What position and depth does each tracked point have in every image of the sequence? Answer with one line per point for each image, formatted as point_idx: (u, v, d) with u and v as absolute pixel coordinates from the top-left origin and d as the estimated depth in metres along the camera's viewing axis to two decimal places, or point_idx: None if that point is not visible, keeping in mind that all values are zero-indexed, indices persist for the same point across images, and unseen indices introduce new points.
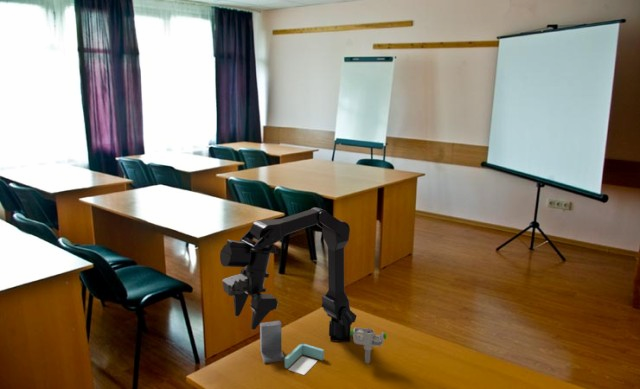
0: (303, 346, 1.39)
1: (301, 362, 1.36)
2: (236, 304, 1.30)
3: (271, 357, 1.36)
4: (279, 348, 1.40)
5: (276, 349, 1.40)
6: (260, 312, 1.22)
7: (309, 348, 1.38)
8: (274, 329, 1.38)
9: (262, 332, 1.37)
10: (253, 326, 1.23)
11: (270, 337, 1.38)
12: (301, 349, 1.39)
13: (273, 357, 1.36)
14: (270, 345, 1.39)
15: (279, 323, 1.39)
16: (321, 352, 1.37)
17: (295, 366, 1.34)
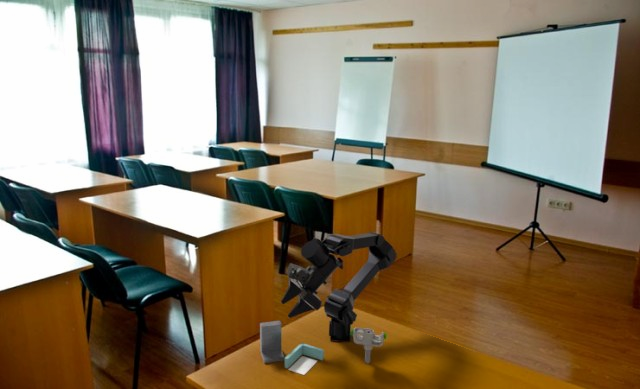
0: (303, 346, 1.39)
1: (301, 362, 1.36)
2: (287, 293, 1.43)
3: (271, 357, 1.36)
4: (279, 348, 1.40)
5: (276, 349, 1.40)
6: (302, 306, 1.34)
7: (309, 348, 1.38)
8: (274, 329, 1.38)
9: (262, 332, 1.37)
10: (290, 314, 1.34)
11: (270, 337, 1.38)
12: (301, 349, 1.39)
13: (273, 357, 1.36)
14: (270, 345, 1.39)
15: (279, 323, 1.39)
16: (321, 352, 1.37)
17: (295, 366, 1.34)
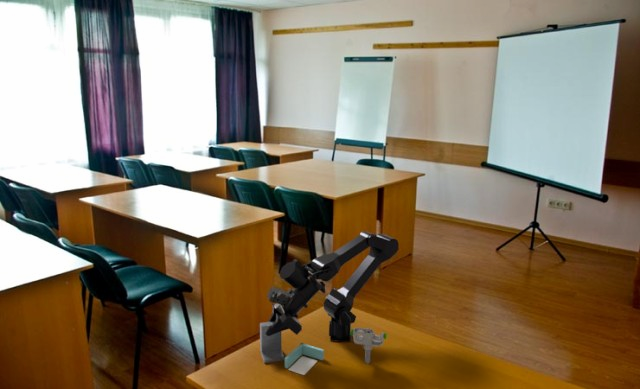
0: (303, 346, 1.39)
1: (301, 362, 1.36)
2: (270, 320, 1.40)
3: (271, 356, 1.36)
4: (279, 348, 1.40)
5: (276, 349, 1.40)
6: (280, 324, 1.37)
7: (309, 348, 1.38)
8: None
9: (262, 332, 1.37)
10: (268, 332, 1.37)
11: (270, 337, 1.38)
12: (301, 349, 1.39)
13: (273, 357, 1.36)
14: (270, 345, 1.39)
15: None
16: (321, 352, 1.37)
17: (295, 366, 1.34)
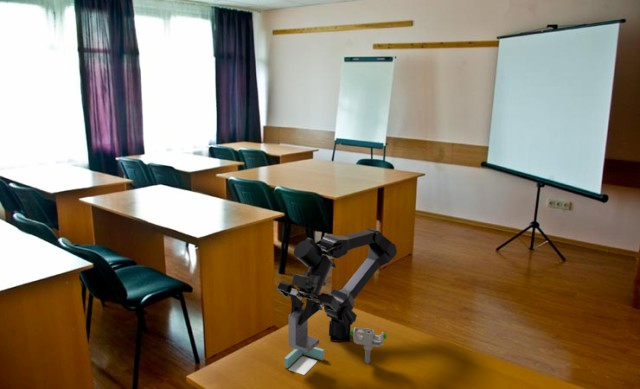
0: None
1: (301, 362, 1.36)
2: (294, 310, 1.32)
3: (309, 344, 1.30)
4: (306, 335, 1.35)
5: (304, 337, 1.34)
6: (310, 309, 1.32)
7: None
8: None
9: (296, 323, 1.29)
10: (301, 321, 1.30)
11: (301, 326, 1.31)
12: None
13: (311, 344, 1.31)
14: (301, 334, 1.32)
15: None
16: (321, 352, 1.37)
17: (295, 366, 1.34)
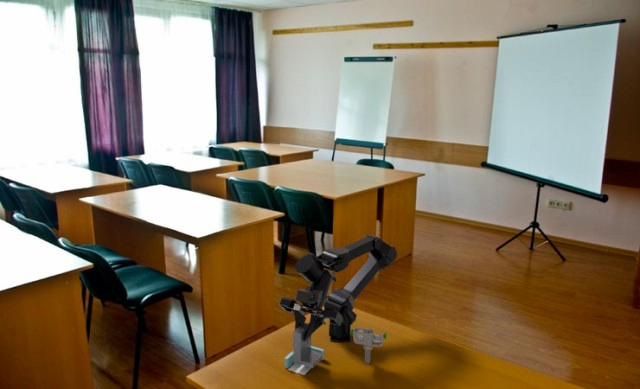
0: None
1: None
2: (298, 325, 1.33)
3: (314, 359, 1.31)
4: (310, 349, 1.35)
5: (308, 352, 1.34)
6: (314, 324, 1.33)
7: None
8: None
9: (301, 339, 1.30)
10: (306, 336, 1.31)
11: (305, 342, 1.32)
12: None
13: (316, 359, 1.32)
14: (305, 350, 1.33)
15: (308, 324, 1.34)
16: (321, 352, 1.37)
17: (295, 366, 1.34)
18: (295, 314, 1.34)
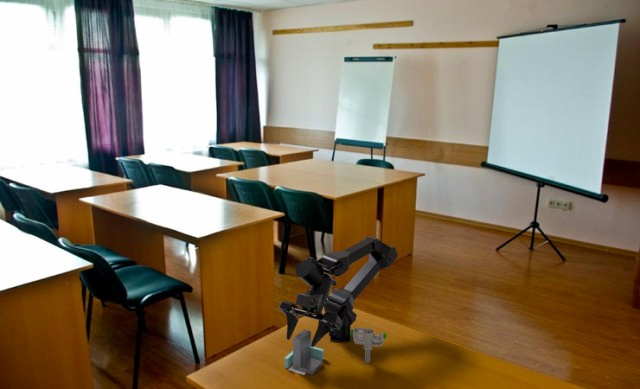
0: None
1: None
2: (290, 327, 1.34)
3: (314, 366, 1.32)
4: (309, 356, 1.36)
5: (308, 358, 1.35)
6: (322, 330, 1.32)
7: None
8: (307, 338, 1.33)
9: (300, 346, 1.30)
10: (314, 343, 1.30)
11: (305, 348, 1.32)
12: None
13: (316, 366, 1.32)
14: (305, 356, 1.33)
15: (308, 331, 1.34)
16: (321, 352, 1.37)
17: None
18: (287, 316, 1.35)
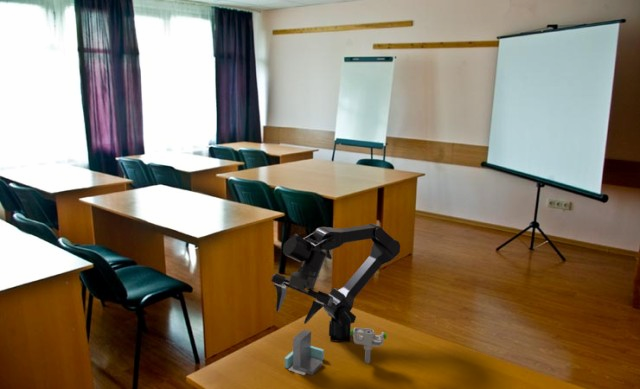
0: None
1: None
2: (280, 300, 1.37)
3: (314, 366, 1.32)
4: (309, 356, 1.36)
5: (308, 358, 1.35)
6: None
7: None
8: (307, 338, 1.33)
9: (300, 346, 1.30)
10: (307, 320, 1.34)
11: (305, 348, 1.32)
12: None
13: (316, 366, 1.32)
14: (305, 356, 1.33)
15: (308, 331, 1.34)
16: (321, 352, 1.37)
17: None
18: (277, 289, 1.37)
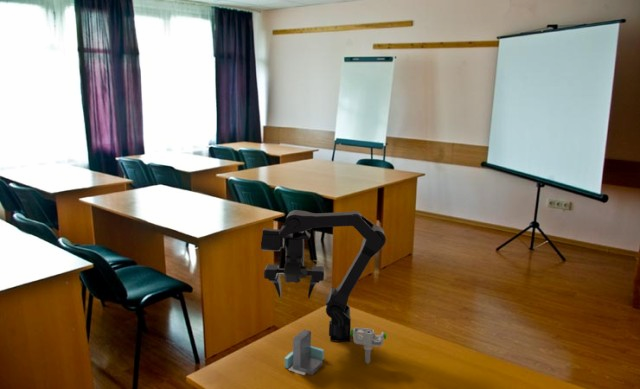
0: None
1: None
2: (279, 288, 1.47)
3: (314, 366, 1.32)
4: (309, 356, 1.36)
5: (308, 358, 1.35)
6: None
7: None
8: (307, 338, 1.33)
9: (300, 346, 1.30)
10: (310, 295, 1.48)
11: (305, 348, 1.32)
12: None
13: (316, 366, 1.32)
14: (305, 356, 1.33)
15: (308, 331, 1.34)
16: (321, 352, 1.37)
17: None
18: (273, 282, 1.45)
